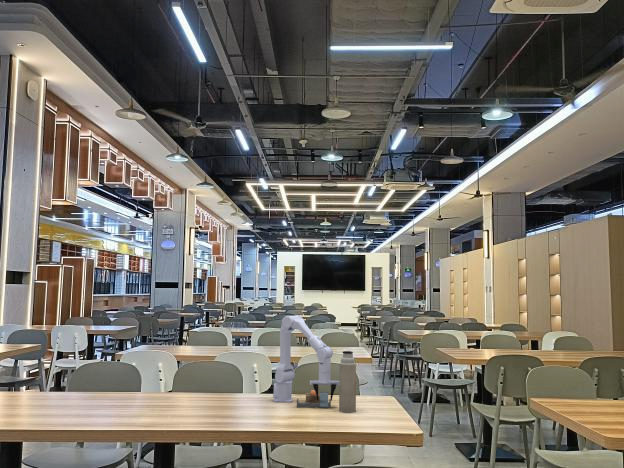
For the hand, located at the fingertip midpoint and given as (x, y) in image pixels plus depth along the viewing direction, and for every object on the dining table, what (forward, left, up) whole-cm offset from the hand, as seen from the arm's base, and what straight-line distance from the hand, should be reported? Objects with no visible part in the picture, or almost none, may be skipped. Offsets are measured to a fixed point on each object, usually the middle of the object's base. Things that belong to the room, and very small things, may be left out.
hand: (324, 400), depth 276 cm
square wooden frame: (-5, +11, -3) cm, 13 cm away
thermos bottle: (+11, -8, -4) cm, 14 cm away
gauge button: (-5, +11, -1) cm, 12 cm away
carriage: (0, 0, -3) cm, 3 cm away
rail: (-5, 0, -3) cm, 6 cm away
